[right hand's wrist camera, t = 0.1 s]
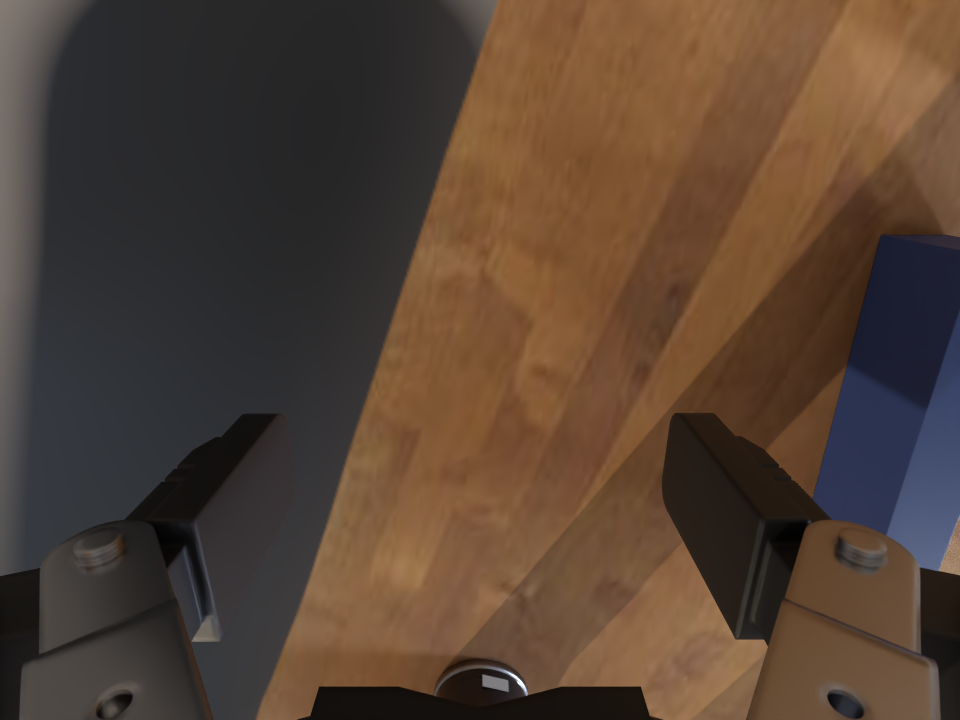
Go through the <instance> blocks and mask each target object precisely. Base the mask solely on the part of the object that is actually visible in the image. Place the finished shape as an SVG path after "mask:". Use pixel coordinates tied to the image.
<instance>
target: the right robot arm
mask: <svg viewBox="0 0 960 720" xmlns="http://www.w3.org/2000/svg"><path fill="white" fill-rule="evenodd" d="M662 493H663V499H664V503H665V507H666V509H667V511H668V513H669V515H670V517H671V519H672V521H673V522H674V524H675V526H676V528H677V530H678V532H679V534H680V536H681V537H682V539H683V541H684V543H685V545H686V547H687V549H688V551H689V553H690V554H691V556H692V558H693V560H694V562H695V564H696V566H697V568H698V569H699V571H700V573H701V575H702V577H703V579H704V581H705V583H706V584H707V586H708V588H709V590H710V592H711V594H712V596H713V598H714V600H715V601H716V603H717V605H718V607H719V609H720V611H721V613H722V615H723V616H724V618H725V620H726V622H727V624H728V626H729V628H730V630H731V632H732V633H733V635H734V637H735V639H764V640H765V642H766V644H767V645H768V649H767V652H766V656H765V659H764V662H763V665H762V669H761V672H760V675H759V679H758V682H757V685H756V689H755V692H754V695H753V699H752V702H751V705H750V708H749V712H748V715H747V718H746V720H960V575H955V574H950V573H945V572H940V571H935V570H930V569H925V568H921V567H919V565H918V563H917V561H916V559H915V558H914V557H913V555H912V554H911V553H910V552H909V551H908V550H907V549H906V548H905V547H903V546H902V545H901V544H899V543H898V542H896V541H895V540H893V539H892V538H890V537H888V536H886V535H884V534H883V533H880V532H878V531H876V530H874V529H871V528H868V527H866V526H863V525H859V524H856V523H852V522H847V521H841V520H832V519H831V518H830V517H829V516H828V515H827V514H826V513H825V512H824V511H823V510H822V509H821V508H820V507H819V506H818V504H817V503H816V502H815V501H814V500H813V499H812V498H811V497H810V496H809V495H808V494H807V493H806V492H805V491H804V490H803V489H802V488H801V487H800V486H799V485H798V484H797V483H796V482H795V481H791V477H790V476H789V475H788V474H787V473H786V472H785V471H784V470H783V469H782V468H779V464H778V463H777V462H776V461H775V460H774V459H773V458H772V457H771V456H770V455H769V454H768V453H767V452H766V451H765V450H764V449H762V448H760V447H759V446H757V445H755V444H753V443H752V442H750V441H748V440H746V439H745V438H743V437H741V436H734V434H733V433H732V432H731V431H730V430H729V429H728V428H727V427H726V426H725V425H724V424H723V422H722V421H721V420H720V419H719V418H718V417H717V416H716V415H715V414H713V413H675V414H674V415H673V416H672V418H671V421H670V426H669V433H668V440H667V448H666V455H665V462H664V469H663V476H662ZM294 496H295V476H294V469H293V462H292V455H291V448H290V441H289V433H288V426H287V422H286V419H285V417H284V416H283V415H282V414H243V415H242V416H241V417H240V418H239V419H238V420H237V421H236V422H235V423H234V424H233V425H232V426H231V427H230V428H229V429H228V430H227V432H226V433H225V434H224V435H223V436H222V437H215V438H214V439H212V440H210V441H208V442H207V443H205V444H203V445H201V446H200V447H198V448H196V449H194V450H193V451H192V452H191V453H190V454H189V455H188V456H187V457H186V458H185V459H184V460H183V461H182V462H181V463H180V464H179V465H178V468H177V469H174V470H173V471H172V472H171V473H170V474H169V475H168V476H167V477H166V478H165V482H161V483H160V484H159V485H158V486H157V487H156V488H155V489H154V490H153V491H152V492H151V493H150V494H149V495H148V496H147V497H146V498H145V499H144V500H143V501H142V502H141V503H140V504H139V505H138V506H137V508H135V510H134V511H133V512H132V513H131V514H130V515H129V516H128V517H127V518H126V519H125V520H120V521H113V522H108V523H104V524H101V525H97V526H94V527H92V528H89V529H86V530H84V531H82V532H80V533H77V534H76V535H74V536H72V537H70V538H68V539H67V540H65V541H64V542H62V543H61V544H59V545H58V546H57V547H56V548H54V549H53V550H52V551H51V552H50V553H49V554H48V555H47V557H46V558H45V559H44V561H43V563H42V565H41V568H38V569H33V570H29V571H24V572H19V573H14V574H9V575H4V576H0V720H214V718H213V715H212V712H211V709H210V705H209V702H208V699H207V695H206V692H205V689H204V685H203V682H202V679H201V675H200V672H199V669H198V666H197V662H196V659H195V656H194V652H193V649H192V646H191V641H221V639H222V637H223V635H224V633H225V631H226V629H227V628H228V626H229V624H230V622H231V620H232V618H233V616H234V614H235V613H236V611H237V609H238V607H239V605H240V603H241V602H242V600H243V598H244V596H245V594H246V592H247V590H248V589H249V587H250V585H251V583H252V581H253V579H254V577H255V576H256V574H257V572H258V570H259V568H260V566H261V564H262V563H263V561H264V559H265V557H266V555H267V553H268V551H269V549H270V548H271V546H272V544H273V542H274V540H275V538H276V537H277V535H278V533H279V531H280V529H281V527H282V525H283V524H284V522H285V520H286V518H287V516H288V514H289V512H290V510H291V508H292V505H293V501H294ZM298 720H662V719H659V718H655V717H652V716H649V712H648V709H647V706H646V702H645V699H644V696H643V693H642V689H641V687H559V688H555V689H551V690H547V691H543V692H539V693H535V694H531V695H528V692H527V686H526V683H525V681H524V680H523V678H522V677H521V675H520V674H519V673H518V672H516V671H515V670H514V669H512V668H511V667H509V666H507V665H505V664H503V663H500V662H496V661H491V660H470V661H466V662H462V663H459V664H457V665H455V666H453V667H451V668H449V669H448V670H447V671H445V672H444V673H443V674H442V675H441V677H440V678H439V679H438V681H437V683H436V686H435V691H434V696H433V695H429V694H425V693H421V692H417V691H413V690H409V689H405V688H401V687H319V689H318V693H317V696H316V699H315V702H314V706H313V709H312V712H311V716H308V717H305V718H301V719H298Z"/></svg>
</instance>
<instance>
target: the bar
mask: <svg viewBox="0 0 960 720" xmlns="http://www.w3.org/2000/svg"><path fill="white" fill-rule="evenodd" d="M813 500H814V501H815V502H816V503H817V504H818V506H819V507H820V508H821V509H822V510H823V511H824V512H825V513H826V514H827V515H828V516H829V517H830V518H831V519H832V520H841V521H847V522H852V523H856V524H859V525H863V526H866V527H868V528H871V529H874V530H876V531H878V532H880V533H883V534H884V535H886V536H888V537H890V538H892V539H893V540H895V541H896V542H898V543H899V544H901V545H902V546H903V547H905V548H906V549H907V550H908V551H909V552H910V553H911V554H912V555H913V557H914V558H915V559H916V561H917V563H918V565H919V567H921V568H925V569H930V570H935V571H939V568H940V566H941V563H942V560H943V558H944V555H945V553H946V550H947V547H948V545H949V542H950V539H951V537H952V534H953V531H954V529H955V526H956V523H957V521H958V518H959V516H960V237H955V236H949V235H881V237H880V241H879V245H878V249H877V253H876V257H875V260H874V264H873V268H872V272H871V276H870V280H869V284H868V287H867V291H866V295H865V299H864V303H863V307H862V311H861V314H860V318H859V322H858V326H857V330H856V334H855V338H854V341H853V345H852V349H851V353H850V357H849V361H848V365H847V368H846V372H845V376H844V380H843V384H842V388H841V391H840V395H839V399H838V403H837V407H836V411H835V415H834V418H833V422H832V426H831V430H830V434H829V438H828V442H827V445H826V449H825V453H824V457H823V461H822V465H821V469H820V472H819V476H818V480H817V484H816V488H815V492H814V496H813Z"/></svg>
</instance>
